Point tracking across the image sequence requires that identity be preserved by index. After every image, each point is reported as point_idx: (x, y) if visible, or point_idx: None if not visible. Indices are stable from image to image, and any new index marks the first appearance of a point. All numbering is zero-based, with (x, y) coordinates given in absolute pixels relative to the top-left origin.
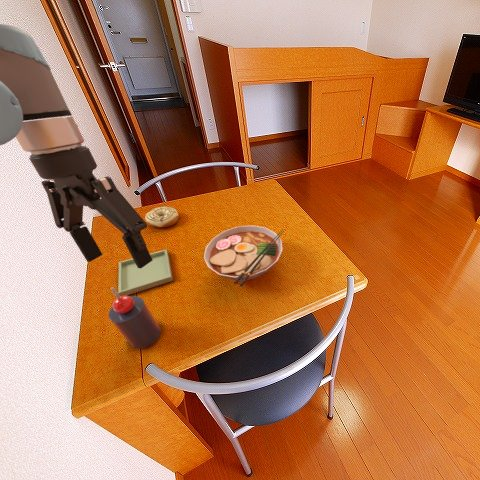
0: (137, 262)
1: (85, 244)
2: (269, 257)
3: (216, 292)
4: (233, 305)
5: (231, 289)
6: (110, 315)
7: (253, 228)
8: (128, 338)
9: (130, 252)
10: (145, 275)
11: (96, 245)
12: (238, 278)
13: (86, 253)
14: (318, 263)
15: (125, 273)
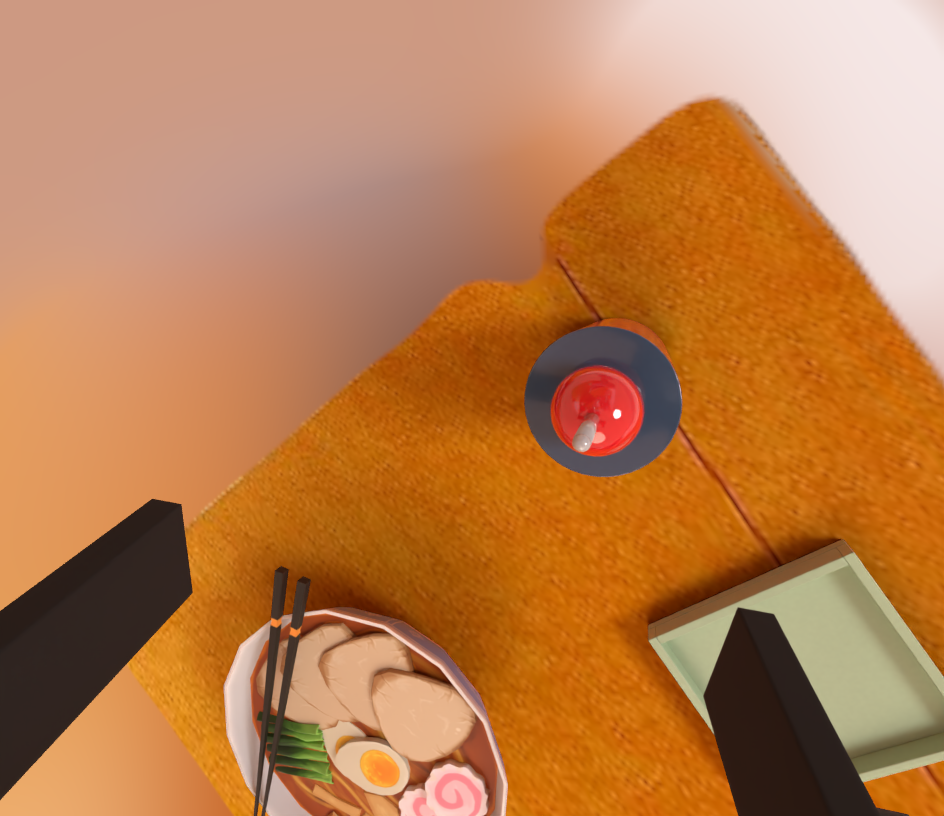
0: (113, 531)
1: (789, 808)
2: (273, 705)
3: (453, 568)
4: (376, 516)
5: (409, 581)
6: (656, 357)
7: None
8: (612, 320)
9: (44, 604)
10: None
11: (736, 794)
12: (296, 600)
13: (766, 689)
14: (200, 681)
15: (909, 672)
